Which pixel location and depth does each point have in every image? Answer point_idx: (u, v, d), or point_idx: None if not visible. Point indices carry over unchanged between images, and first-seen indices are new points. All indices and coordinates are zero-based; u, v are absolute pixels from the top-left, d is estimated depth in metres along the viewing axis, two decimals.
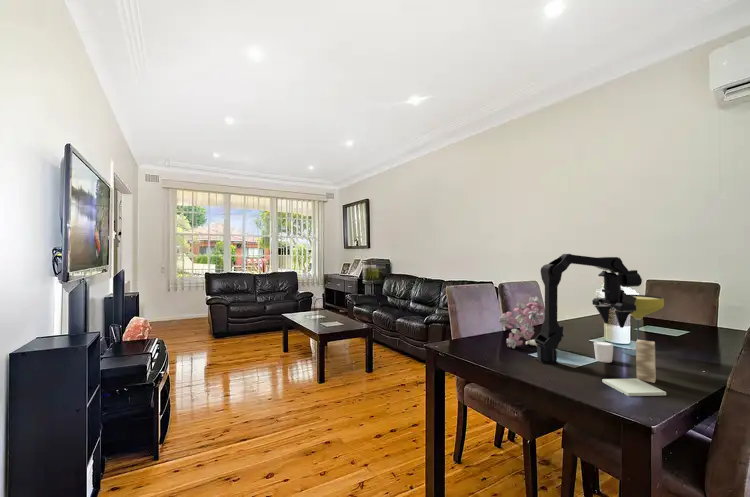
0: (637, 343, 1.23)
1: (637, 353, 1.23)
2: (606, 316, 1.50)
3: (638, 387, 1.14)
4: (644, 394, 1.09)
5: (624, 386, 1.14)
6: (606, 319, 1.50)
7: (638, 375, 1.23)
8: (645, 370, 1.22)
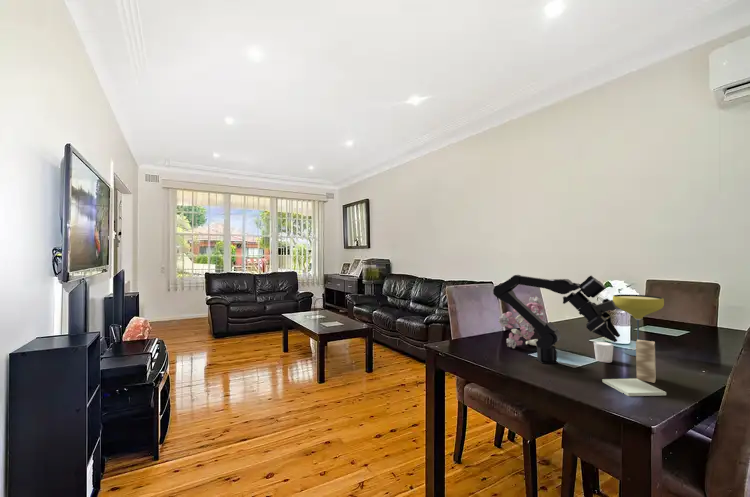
0: (637, 343, 1.23)
1: (637, 353, 1.23)
2: (613, 330, 1.34)
3: (638, 387, 1.14)
4: (644, 394, 1.09)
5: (624, 386, 1.14)
6: (615, 333, 1.33)
7: (638, 375, 1.23)
8: (645, 370, 1.22)
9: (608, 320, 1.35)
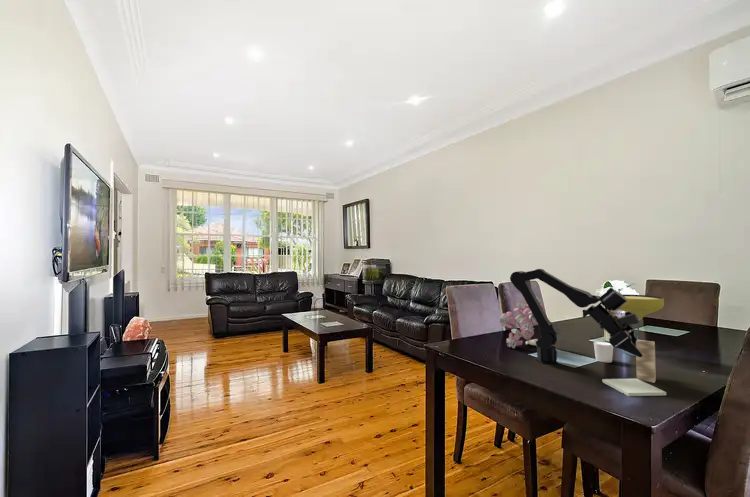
0: (637, 343, 1.23)
1: None
2: None
3: (638, 387, 1.14)
4: (644, 394, 1.09)
5: (624, 386, 1.14)
6: None
7: (638, 375, 1.23)
8: (645, 370, 1.22)
9: (631, 334, 1.30)
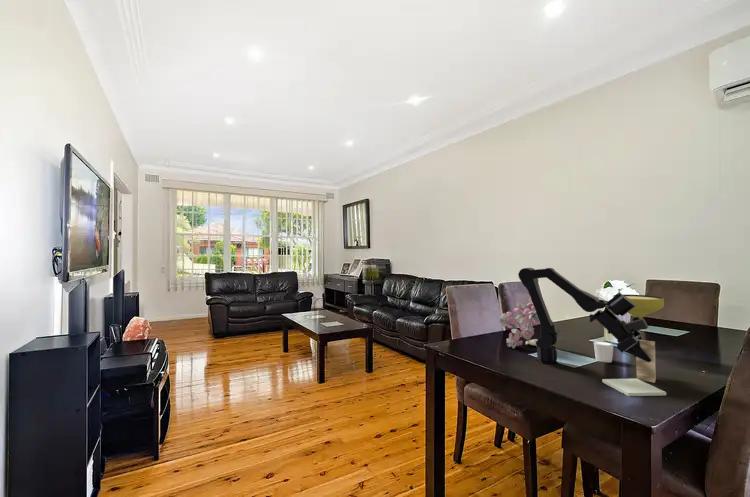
0: None
1: None
2: None
3: (638, 387, 1.14)
4: (644, 394, 1.09)
5: (624, 386, 1.14)
6: None
7: (638, 375, 1.23)
8: (645, 370, 1.22)
9: None
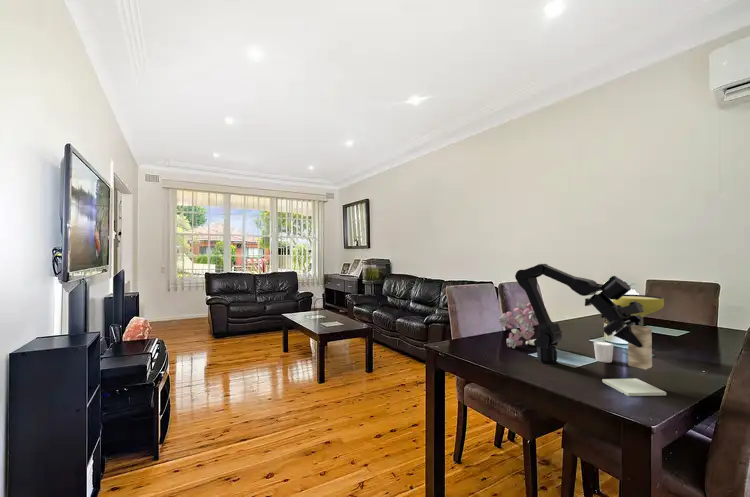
0: None
1: None
2: None
3: (638, 387, 1.14)
4: (644, 394, 1.09)
5: (624, 386, 1.14)
6: None
7: (630, 361, 1.18)
8: (636, 356, 1.17)
9: None
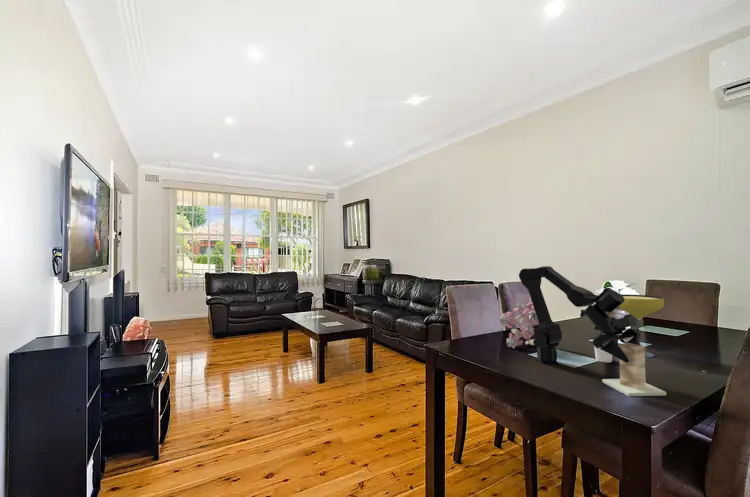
0: (620, 345, 1.16)
1: None
2: None
3: None
4: (644, 394, 1.09)
5: (624, 386, 1.14)
6: None
7: (621, 379, 1.16)
8: (627, 375, 1.14)
9: (634, 339, 1.20)
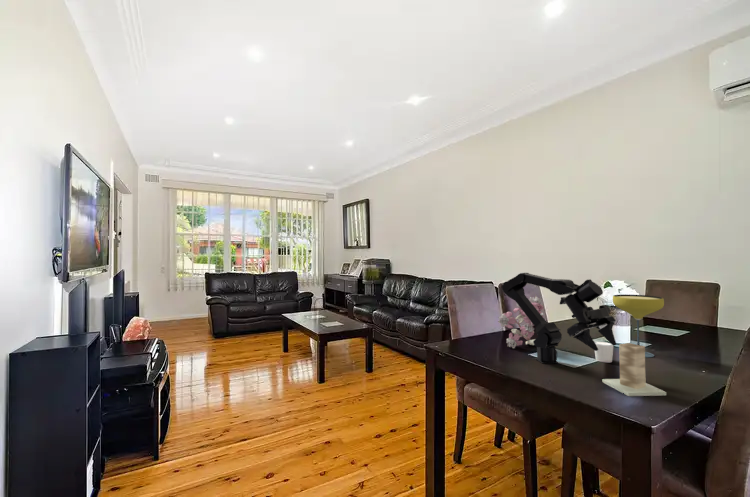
0: (620, 345, 1.16)
1: (620, 356, 1.16)
2: (610, 337, 1.28)
3: None
4: (644, 394, 1.09)
5: (624, 386, 1.14)
6: (611, 341, 1.27)
7: (621, 379, 1.16)
8: (627, 375, 1.14)
9: (607, 326, 1.29)
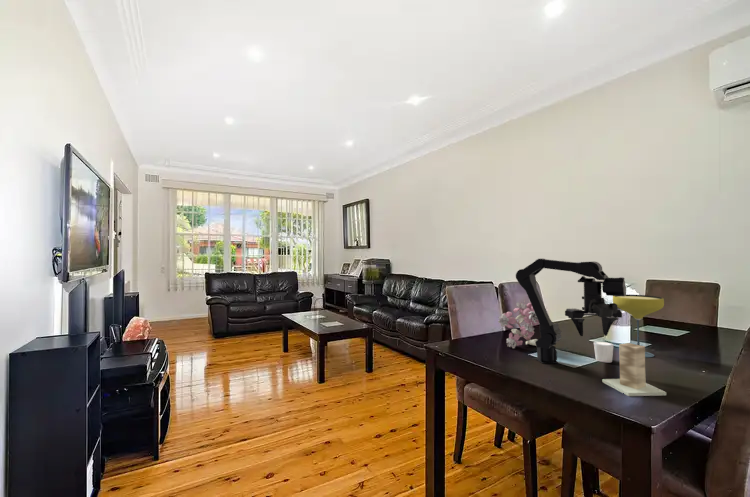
0: (620, 345, 1.16)
1: (620, 356, 1.16)
2: (605, 328, 1.33)
3: None
4: (644, 394, 1.09)
5: (624, 386, 1.14)
6: (604, 331, 1.34)
7: (621, 379, 1.16)
8: (627, 375, 1.14)
9: (608, 319, 1.32)
